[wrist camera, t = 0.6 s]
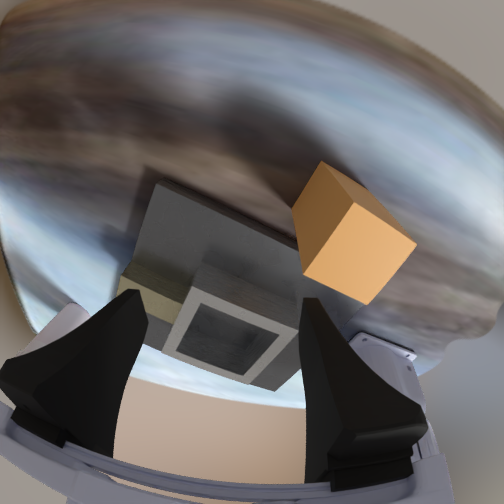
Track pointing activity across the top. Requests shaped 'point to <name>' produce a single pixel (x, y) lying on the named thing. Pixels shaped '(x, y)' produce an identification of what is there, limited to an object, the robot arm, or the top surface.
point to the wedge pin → (347, 235)
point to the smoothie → (58, 327)
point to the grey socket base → (223, 288)
